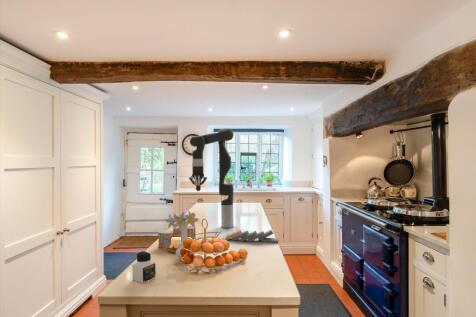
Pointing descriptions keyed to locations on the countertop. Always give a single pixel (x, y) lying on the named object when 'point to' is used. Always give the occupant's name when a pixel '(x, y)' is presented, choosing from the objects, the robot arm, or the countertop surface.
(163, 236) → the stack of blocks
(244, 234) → the slate domino
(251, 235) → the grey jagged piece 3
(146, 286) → the countertop surface
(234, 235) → the terracotta domino
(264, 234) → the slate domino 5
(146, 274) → the medicine bottle
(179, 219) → the flower vase
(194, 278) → the countertop surface
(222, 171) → the robot arm
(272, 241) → the slate domino
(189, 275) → the countertop surface
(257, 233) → the slate domino
